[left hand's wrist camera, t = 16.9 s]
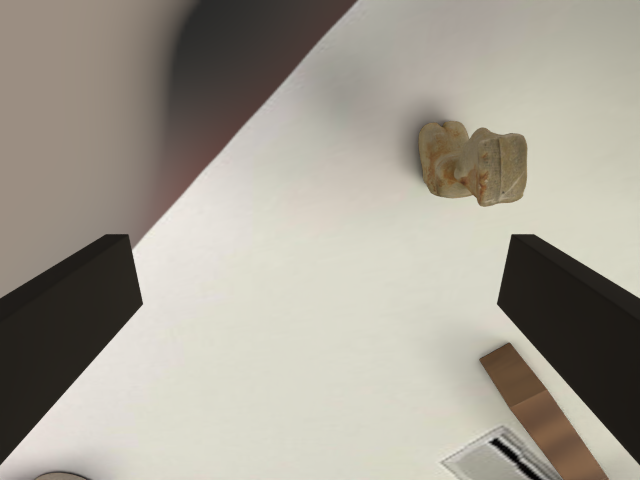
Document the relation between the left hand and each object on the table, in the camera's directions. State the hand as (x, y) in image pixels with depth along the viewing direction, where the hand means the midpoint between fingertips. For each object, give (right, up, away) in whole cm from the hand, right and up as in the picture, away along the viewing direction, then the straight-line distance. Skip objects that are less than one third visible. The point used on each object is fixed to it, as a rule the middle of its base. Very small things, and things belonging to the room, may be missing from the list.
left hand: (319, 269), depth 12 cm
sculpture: (+13, +10, +26) cm, 31 cm away
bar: (+35, -27, +41) cm, 60 cm away
